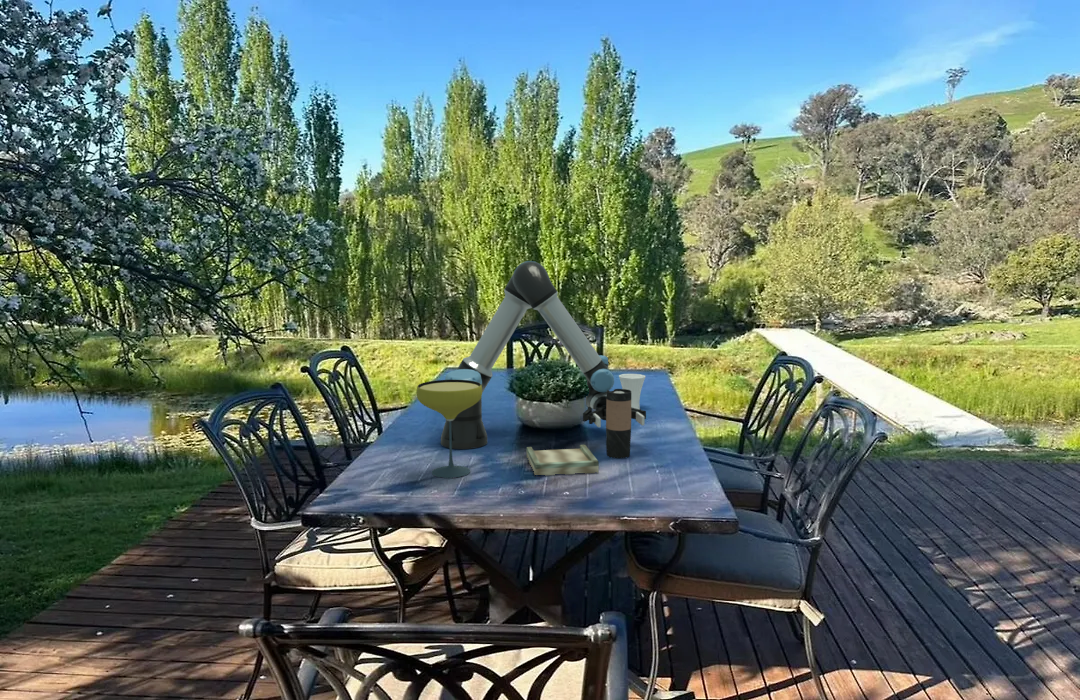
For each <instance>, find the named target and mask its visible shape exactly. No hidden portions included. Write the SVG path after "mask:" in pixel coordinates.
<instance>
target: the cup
mask: <svg viewBox="0 0 1080 700" xmlns="http://www.w3.org/2000/svg"><path fill="white" fill-rule="evenodd" d="M618 378H619V382H620V385H621V389H627V390H630V391H631V407H632V408H636V409H641V408H640V407H641V406H640V405H641V404H640V398H641V392H642V389H643V386H644V382H645V380H646V375H644V374H640V373H622V374H619V375H618Z"/></svg>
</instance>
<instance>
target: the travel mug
mask: <svg viewBox="0 0 1080 700" xmlns="http://www.w3.org/2000/svg"><path fill="white" fill-rule="evenodd" d="M631 435H632V419H631V391H630V390H627V389H622V388H614V389H613V390H607V402H606V420H605V443H606V444H605V445H606V447H605V451H606V456H607V457H608V456H609V458H611V457H612V459H626V457H627V458H630V456H631V440H632V439H631V437H632V436H631Z"/></svg>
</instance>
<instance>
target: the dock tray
mask: <svg viewBox="0 0 1080 700" xmlns="http://www.w3.org/2000/svg"><path fill="white" fill-rule="evenodd" d="M527 458H528V459H527ZM526 459H527V461H528V460H529V461H528V463H529V465H531V466H530V467H532V468H531V470H532V469H533V470H532V472H533V471H534V472H533V474H534V476H535V475H545V476H556V475H555V474H565V475H576V474H575V473H585V474H599V473H598V472H599V470H600V469H599V468H600V467H599V466H600V465H599V463H600V462H599V460H598V459H597V458H596V456H595V455H594V454H593V452H592V451H591V450H590V449H589V448H588V447H587V445H586V444H579V448H566V449H565V448H564V449H563V448H562V449H546V450H545V449H543V450H534V449H533V447H532V446H527V447H526ZM595 472H597V473H595Z"/></svg>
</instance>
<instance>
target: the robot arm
mask: <svg viewBox="0 0 1080 700" xmlns="http://www.w3.org/2000/svg"><path fill="white" fill-rule="evenodd" d="M503 290H504V297H503V300H502V301H501V303H500V304H499V306H498V307H497V310H496V311H495V313H494V315H493V317H492V318H491V320H490V321H489V323H488V324H487V327H486V328H485V330H484V331H483V333H482V335H481V337H480V338H479V340H478V342H477V343H476V345H475V347H474V348H473V351H471V354H470V355H469V356H466V357H463V359H462V360H461V362H460V363H459V365H458V367H457V368H456V369H454V370H451V371H449V372H447V374H445V378H444V380H469V381H475V382H478V383H480V384H481V385H482V394H483V393H484V391H485V389H486V388H487V387H488V384H489V382H490V381H491V379H492V377H493V375H494V374H493V371H492V369H493V367H494V366H495V364H496V362H497V361H498V359H499V357H500V355H501V354H502V353H503V350H504V349H505V347H506V346H507V344H508V342H509V341H510V339H511V337H512V335H513V334H514V333H515V330H516V328H517V327H518V325H519V324H520V322H521V320H522V319H523V317H524V316H525V314H526V312H527V311H528V310H529V309H532V310H535V311H538V313H539V314H540V315H541V317H542V318H543V319H544V321H545V322H546V323H547V325H548V326H549V327H550V329H551V330H552V332H553V333H554V335H555V336H556V337H557V339H558V341H559V342H560V343H561V344H562V346H563V347H564V349H565V350H566V351H567V353H568V354H569V356H570V357H571V358H572V360H573V361H574V362H575V364H576V366H577V367H578V368H579V369H580V371H581V373H582V374H583V375H584V377H585V379H586V380H587V385H588V388H589V394H588V396H586V404H585V406H586V407H587V409H586V410H585V411H584V412H583V413H582V421H583V422H588V424H589V425H593V423H594V424H595V426H596V427H597V428H601V425H602V422H601V421H606V402H607V390H609V391H611V390H612V388H613V387H614V385H615V377H614V376H615V375H614V374H613V373H612V371H611V370H610V369H609V357H607V356H606V355H599V353H598V352H597V350H596V349H595V348H594V346H593V345H592V344H591V342H590V340H589V339H588V338H587V337H586V335H585V334H584V332H583V331H582V329H581V328H580V326H579V325H578V324H577V323H576V321H575V320H574V318H573V317H572V316H571V314H570V312H569V311H568V310H567V308H566V307H565V305H564V304H563V302H562V301H561V299H560V298H559V297H558V294H559V293H558V290H557V289H556V287H555V286H554V284H553V283H552V280H551V278H550V276H549V274H548V271H547V270H546V268H545V267H544V266H543V265H542V264H541V263H538V262H536V261H533V260H527V261H523V262H522V263H520V264H519V265H517V266H516V268H515V270H514V271H513V273H512V275H511V277H510V279H509V281H508V282H507V284H506V285H505V287H504V289H503ZM482 397H483V396H482ZM482 397H481V399H480V400H479V401H478V402H477V403H476V404H474V405H473V406H471V407H469V408H467V409H465V410H463V411H462V412H460V413H459V414H458V415H457V416H456V417H455V419H454V420H453V421H451V434H452V450H453V449H454V450H469V449H476V448H477V449H478V448H481V447H484V446H486V445H487V444H488V434H487V431H486V427H485V425H484V421H483V416H482V415H483V413H482V412H483V407H482V405H483V403H482V402H483V401H482V399H483V398H482ZM646 419H647V410H643V409H641V408H640V409H636V408H632V407H631V420H635V422H637V423H638V424H640V425H641V426H645V420H646ZM440 445H441V446H442V447H445V448H448V449H449V421H447V420H446V419H445V423H444V425H443V428H442V432H441V436H440Z"/></svg>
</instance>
